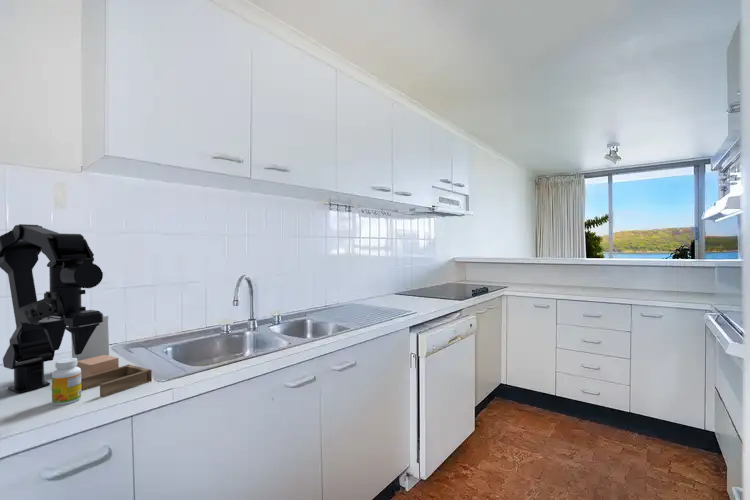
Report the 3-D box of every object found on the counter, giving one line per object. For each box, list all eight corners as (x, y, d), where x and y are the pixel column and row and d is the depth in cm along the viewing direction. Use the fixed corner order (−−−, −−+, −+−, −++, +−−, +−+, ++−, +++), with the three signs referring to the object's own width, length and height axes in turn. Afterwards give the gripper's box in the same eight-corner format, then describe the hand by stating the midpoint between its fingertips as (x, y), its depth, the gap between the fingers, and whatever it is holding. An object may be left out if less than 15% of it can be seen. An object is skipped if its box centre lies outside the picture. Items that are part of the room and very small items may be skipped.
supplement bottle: (46, 403, 86) (46, 362, 86) (72, 395, 91) (72, 355, 91) (60, 407, 84) (60, 365, 84) (86, 398, 89) (86, 358, 89)
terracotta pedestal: (76, 379, 102) (76, 361, 102) (104, 371, 108) (104, 354, 108) (90, 383, 99) (90, 365, 99) (118, 375, 105) (118, 357, 105)
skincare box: (104, 361, 118) (103, 312, 118) (110, 365, 114) (110, 315, 113) (70, 368, 111) (70, 316, 111) (76, 373, 107) (75, 319, 107)
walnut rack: (80, 389, 95) (79, 378, 95) (128, 375, 105) (128, 364, 105) (102, 397, 90) (102, 384, 90) (151, 380, 101) (151, 369, 101)
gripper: (0, 288, 84) (1, 357, 84) (46, 292, 76) (47, 367, 76) (58, 283, 94) (59, 345, 94) (104, 286, 86) (105, 353, 87)
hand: (66, 352), depth 88 cm, fingers open, 9 cm apart
